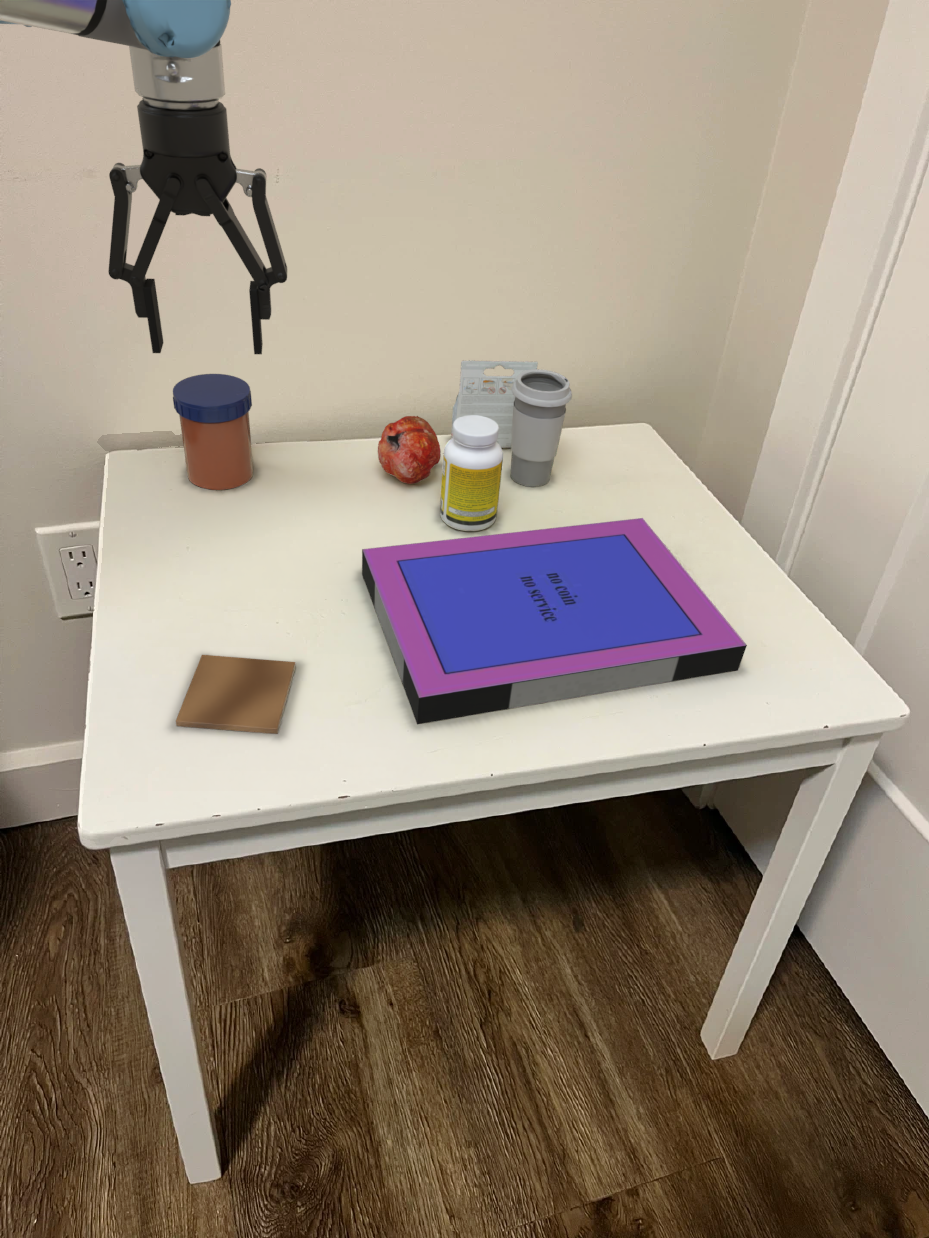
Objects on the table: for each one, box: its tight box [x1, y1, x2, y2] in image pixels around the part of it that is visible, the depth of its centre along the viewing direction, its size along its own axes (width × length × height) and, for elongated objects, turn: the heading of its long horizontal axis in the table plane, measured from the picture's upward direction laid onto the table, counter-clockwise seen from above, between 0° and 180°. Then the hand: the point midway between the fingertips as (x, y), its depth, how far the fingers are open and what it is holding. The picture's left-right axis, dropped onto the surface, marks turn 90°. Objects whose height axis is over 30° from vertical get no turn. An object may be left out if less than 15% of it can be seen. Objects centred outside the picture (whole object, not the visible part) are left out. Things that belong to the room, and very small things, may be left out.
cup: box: [509, 368, 573, 488], centre depth 103 cm, size 7×7×12 cm
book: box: [361, 517, 748, 725], centre depth 85 cm, size 21×3×30 cm
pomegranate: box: [377, 415, 442, 485], centre depth 103 cm, size 7×7×10 cm
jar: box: [178, 411, 254, 491], centre depth 99 cm, size 7×7×10 cm
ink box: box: [450, 359, 539, 449], centre depth 109 cm, size 3×9×12 cm, turn 98°
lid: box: [172, 373, 253, 423], centre depth 97 cm, size 8×8×2 cm
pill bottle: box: [439, 415, 504, 532], centre depth 95 cm, size 6×6×11 cm
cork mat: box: [175, 654, 297, 735], centre depth 75 cm, size 8×8×1 cm
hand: (208, 348), depth 93 cm, fingers open, 9 cm apart
